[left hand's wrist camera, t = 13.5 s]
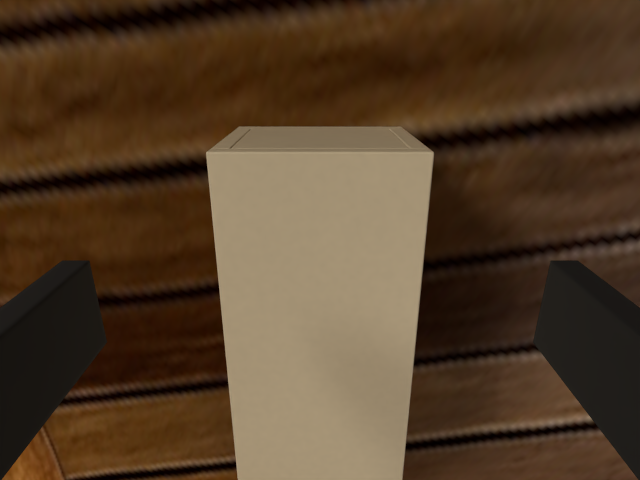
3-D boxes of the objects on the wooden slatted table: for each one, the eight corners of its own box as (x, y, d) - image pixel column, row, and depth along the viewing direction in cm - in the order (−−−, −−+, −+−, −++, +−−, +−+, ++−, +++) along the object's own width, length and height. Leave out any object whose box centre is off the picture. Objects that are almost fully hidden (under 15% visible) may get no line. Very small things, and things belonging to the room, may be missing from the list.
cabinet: (382, 398, 34) (401, 494, 26) (257, 398, 34) (239, 494, 26) (401, 126, 26) (434, 151, 19) (238, 126, 26) (205, 151, 19)
